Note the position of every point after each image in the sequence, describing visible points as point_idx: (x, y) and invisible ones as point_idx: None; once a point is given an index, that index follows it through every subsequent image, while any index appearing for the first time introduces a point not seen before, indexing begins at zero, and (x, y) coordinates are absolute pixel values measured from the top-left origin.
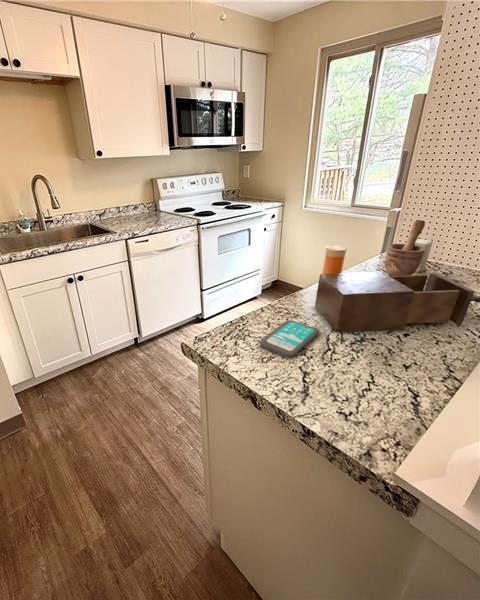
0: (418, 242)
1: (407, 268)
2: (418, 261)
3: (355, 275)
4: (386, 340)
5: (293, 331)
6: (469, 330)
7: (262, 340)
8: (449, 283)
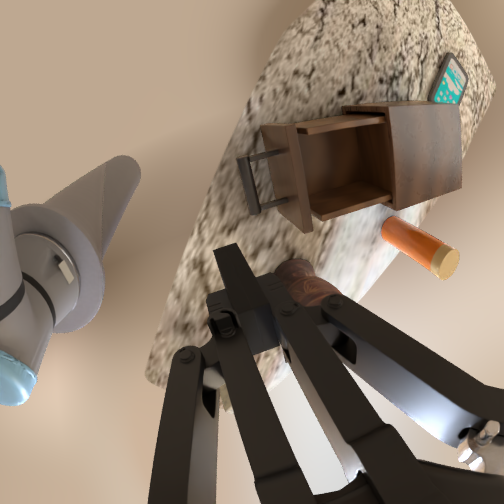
0: None
1: (314, 280)
2: (303, 296)
3: (431, 184)
4: (368, 77)
5: (449, 96)
6: (249, 115)
7: (467, 81)
8: (304, 173)
